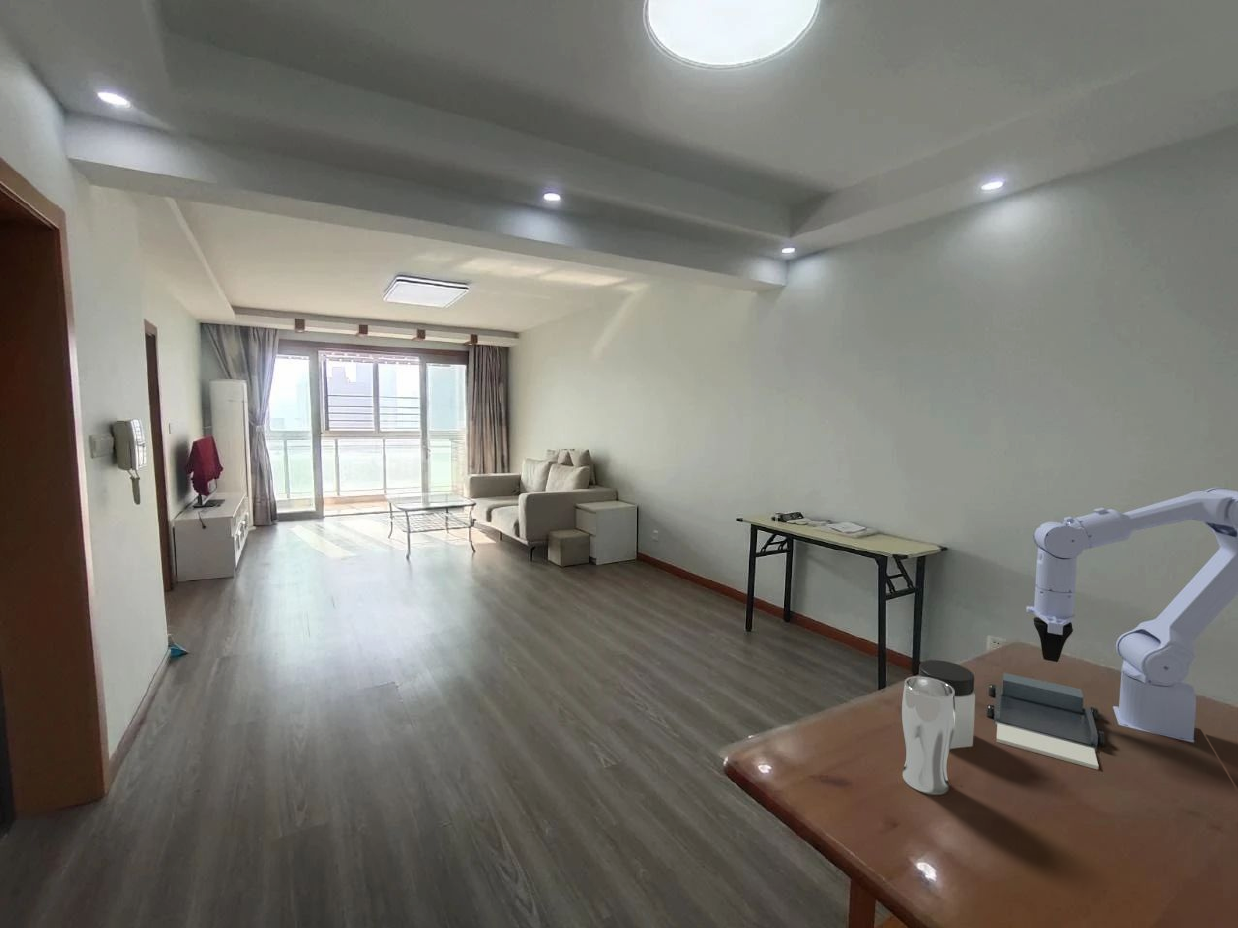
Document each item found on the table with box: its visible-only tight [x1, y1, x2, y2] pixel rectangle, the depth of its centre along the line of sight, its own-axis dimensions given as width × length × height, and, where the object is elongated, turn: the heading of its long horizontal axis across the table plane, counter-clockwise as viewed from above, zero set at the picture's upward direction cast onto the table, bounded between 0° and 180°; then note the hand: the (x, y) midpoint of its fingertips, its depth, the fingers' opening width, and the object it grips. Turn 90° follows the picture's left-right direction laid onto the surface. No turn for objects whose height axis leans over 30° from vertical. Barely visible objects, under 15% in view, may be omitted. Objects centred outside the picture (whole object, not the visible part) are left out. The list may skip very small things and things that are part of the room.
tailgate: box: [994, 721, 1099, 771], centre depth 92 cm, size 14×1×7 cm
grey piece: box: [986, 672, 1106, 750], centre depth 101 cm, size 16×16×4 cm
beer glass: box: [901, 675, 955, 796], centre depth 83 cm, size 7×7×15 cm
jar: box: [918, 659, 976, 750], centre depth 95 cm, size 9×8×12 cm
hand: (1050, 659), depth 103 cm, fingers closed
